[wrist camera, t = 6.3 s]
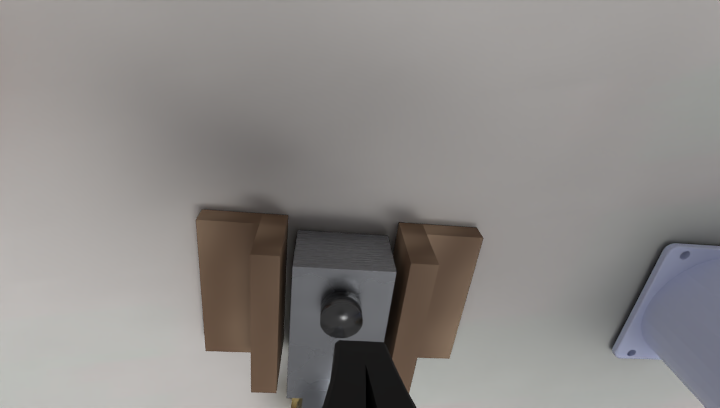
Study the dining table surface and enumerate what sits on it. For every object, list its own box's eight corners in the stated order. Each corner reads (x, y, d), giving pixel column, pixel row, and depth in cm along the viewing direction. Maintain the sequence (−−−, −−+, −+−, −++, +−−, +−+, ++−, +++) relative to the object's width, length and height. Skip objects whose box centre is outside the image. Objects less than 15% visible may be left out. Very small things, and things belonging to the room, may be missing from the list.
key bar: (388, 235, 20) (400, 286, 17) (365, 374, 24) (371, 438, 21) (297, 230, 20) (290, 281, 16) (290, 372, 24) (283, 437, 20)
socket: (476, 227, 21) (502, 268, 18) (444, 345, 24) (461, 396, 21) (202, 209, 19) (177, 250, 16) (210, 337, 23) (191, 391, 20)
